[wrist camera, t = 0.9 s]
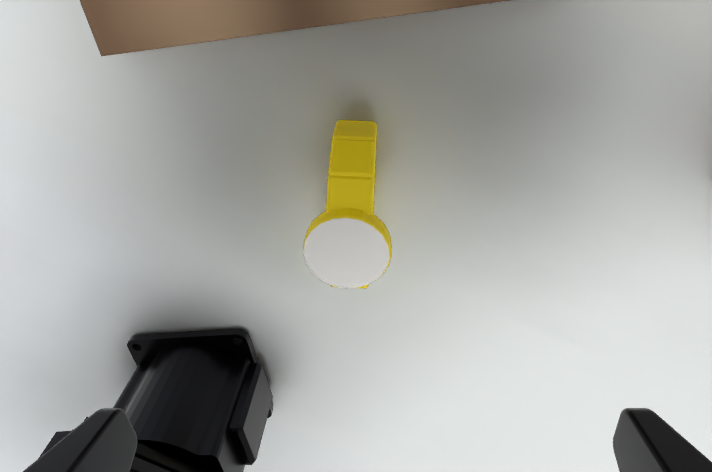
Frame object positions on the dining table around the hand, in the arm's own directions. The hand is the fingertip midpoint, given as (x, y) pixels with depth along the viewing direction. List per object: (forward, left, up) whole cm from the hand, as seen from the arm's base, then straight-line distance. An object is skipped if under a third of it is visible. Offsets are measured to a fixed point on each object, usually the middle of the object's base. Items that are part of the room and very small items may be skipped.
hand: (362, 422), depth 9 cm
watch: (-1, -1, -13) cm, 13 cm away
